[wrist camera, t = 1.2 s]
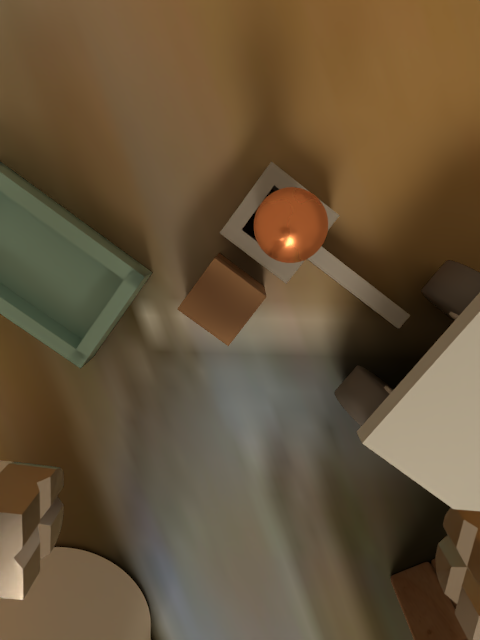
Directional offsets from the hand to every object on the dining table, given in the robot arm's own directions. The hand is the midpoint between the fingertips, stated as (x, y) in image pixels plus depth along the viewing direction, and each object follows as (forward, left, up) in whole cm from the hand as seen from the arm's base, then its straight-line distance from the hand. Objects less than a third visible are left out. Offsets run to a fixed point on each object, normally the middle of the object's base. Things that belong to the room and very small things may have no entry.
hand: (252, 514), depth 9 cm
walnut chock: (0, +2, -24) cm, 24 cm away
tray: (-6, +13, -24) cm, 28 cm away
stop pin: (+6, +2, -24) cm, 24 cm away
